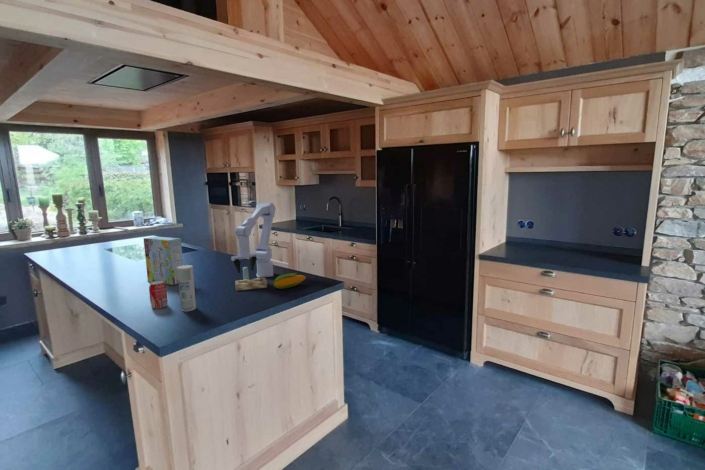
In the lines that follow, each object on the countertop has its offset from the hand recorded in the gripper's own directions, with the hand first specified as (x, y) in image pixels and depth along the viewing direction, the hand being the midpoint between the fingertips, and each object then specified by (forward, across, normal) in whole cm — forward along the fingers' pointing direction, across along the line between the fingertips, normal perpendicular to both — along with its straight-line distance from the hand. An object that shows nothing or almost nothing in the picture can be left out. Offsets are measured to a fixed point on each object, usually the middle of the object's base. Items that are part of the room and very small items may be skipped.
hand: (245, 271), depth 208 cm
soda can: (+8, +46, +8) cm, 48 cm away
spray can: (+8, +37, +20) cm, 42 cm away
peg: (+7, 0, 0) cm, 7 cm away
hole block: (+7, +1, +8) cm, 11 cm away
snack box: (+8, +33, -34) cm, 48 cm away
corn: (+8, -16, +21) cm, 27 cm away
